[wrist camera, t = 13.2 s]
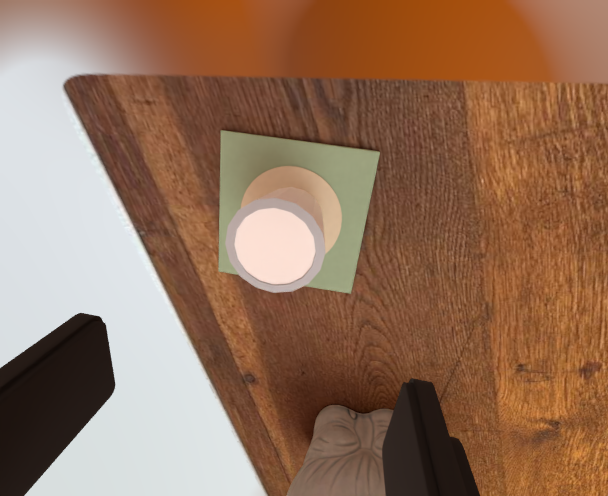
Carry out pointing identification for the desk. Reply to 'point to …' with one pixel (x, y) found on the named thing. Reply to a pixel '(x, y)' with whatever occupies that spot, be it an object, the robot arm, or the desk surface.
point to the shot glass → (278, 240)
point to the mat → (307, 176)
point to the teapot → (344, 454)
